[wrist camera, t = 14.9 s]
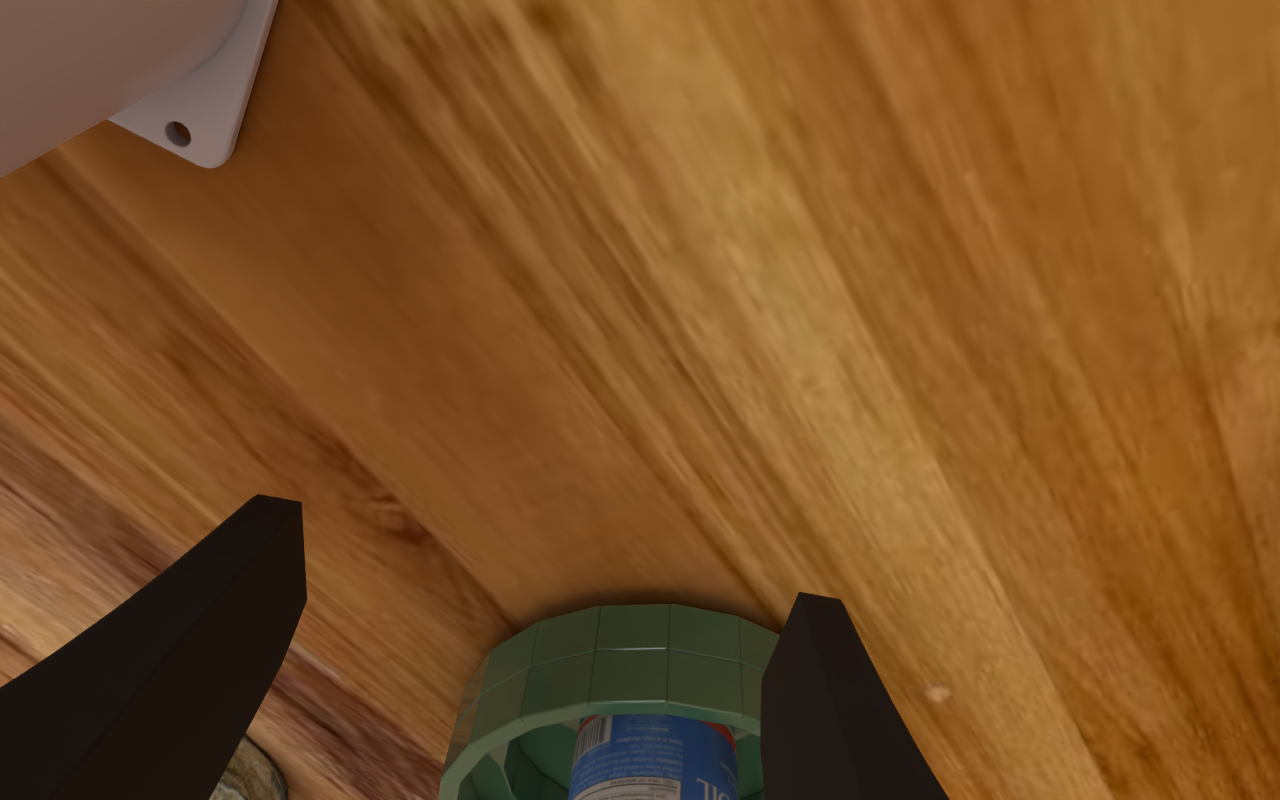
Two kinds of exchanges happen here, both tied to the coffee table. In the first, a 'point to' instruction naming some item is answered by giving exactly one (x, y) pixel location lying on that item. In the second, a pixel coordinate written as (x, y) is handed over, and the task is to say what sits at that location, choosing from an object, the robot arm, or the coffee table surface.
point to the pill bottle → (653, 759)
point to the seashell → (250, 777)
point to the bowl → (603, 693)
